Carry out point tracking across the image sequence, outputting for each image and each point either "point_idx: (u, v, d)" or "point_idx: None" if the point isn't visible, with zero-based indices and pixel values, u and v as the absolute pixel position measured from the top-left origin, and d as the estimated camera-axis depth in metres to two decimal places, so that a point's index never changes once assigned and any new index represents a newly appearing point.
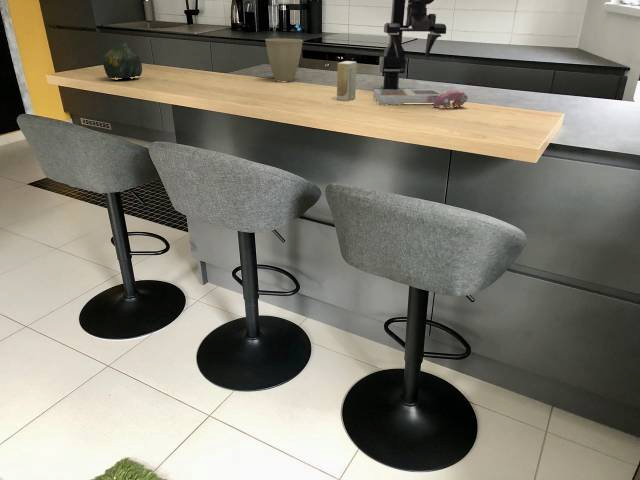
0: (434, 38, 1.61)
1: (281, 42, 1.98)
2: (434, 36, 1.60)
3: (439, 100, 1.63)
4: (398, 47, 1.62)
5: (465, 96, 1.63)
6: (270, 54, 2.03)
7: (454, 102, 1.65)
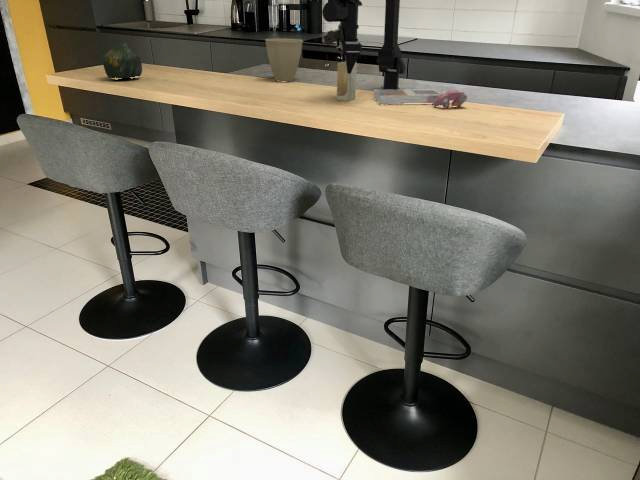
0: (343, 54, 1.65)
1: (281, 42, 1.98)
2: (342, 52, 1.65)
3: (438, 100, 1.63)
4: (342, 60, 1.76)
5: (464, 96, 1.63)
6: (270, 54, 2.03)
7: (453, 102, 1.65)
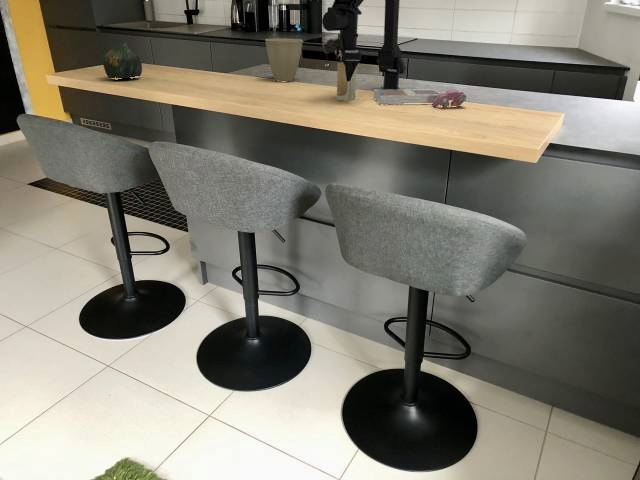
0: (343, 63, 1.66)
1: (281, 42, 1.98)
2: None
3: (438, 100, 1.63)
4: None
5: (464, 96, 1.64)
6: (270, 54, 2.03)
7: (453, 102, 1.65)
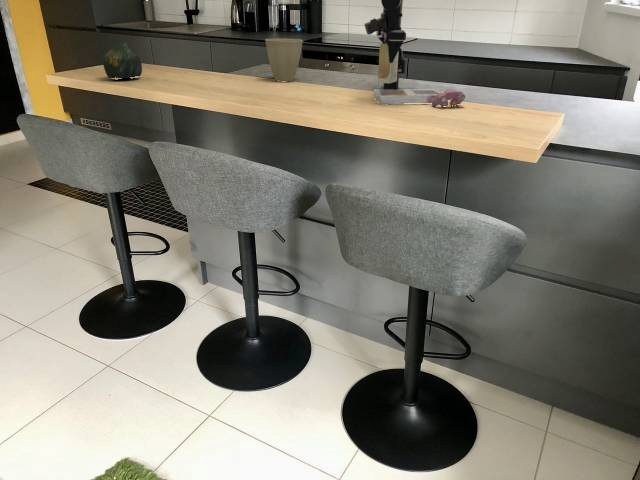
0: (386, 43, 1.62)
1: (281, 42, 1.98)
2: (384, 41, 1.62)
3: (437, 99, 1.64)
4: None
5: (462, 95, 1.64)
6: (270, 54, 2.03)
7: (452, 101, 1.66)
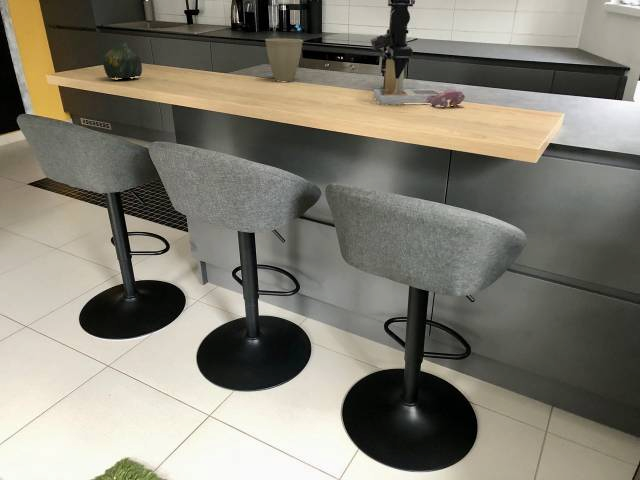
0: (393, 59, 1.64)
1: (281, 42, 1.98)
2: (391, 57, 1.64)
3: (436, 99, 1.64)
4: None
5: (462, 95, 1.64)
6: (270, 54, 2.03)
7: (451, 101, 1.66)
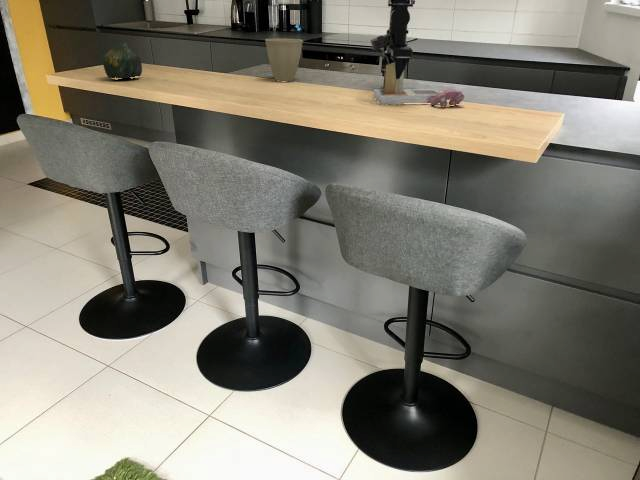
0: (393, 60, 1.63)
1: (281, 42, 1.98)
2: (391, 58, 1.63)
3: (436, 99, 1.64)
4: None
5: (462, 95, 1.65)
6: (270, 54, 2.03)
7: (451, 101, 1.66)
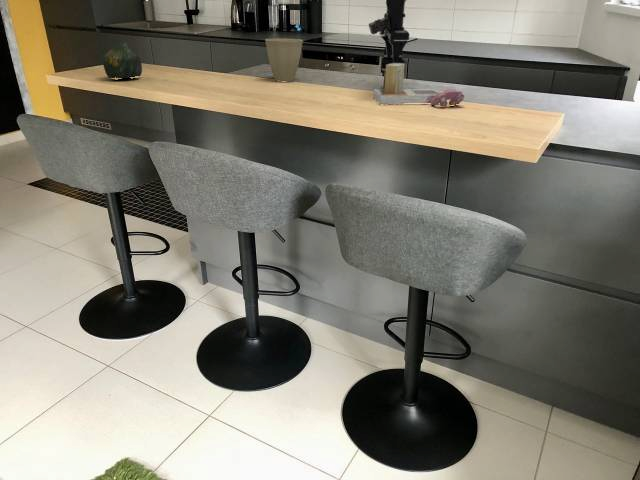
0: (390, 43, 1.68)
1: (281, 42, 1.98)
2: (389, 41, 1.68)
3: (436, 99, 1.64)
4: (386, 48, 1.79)
5: (462, 95, 1.65)
6: (270, 54, 2.03)
7: (451, 101, 1.66)
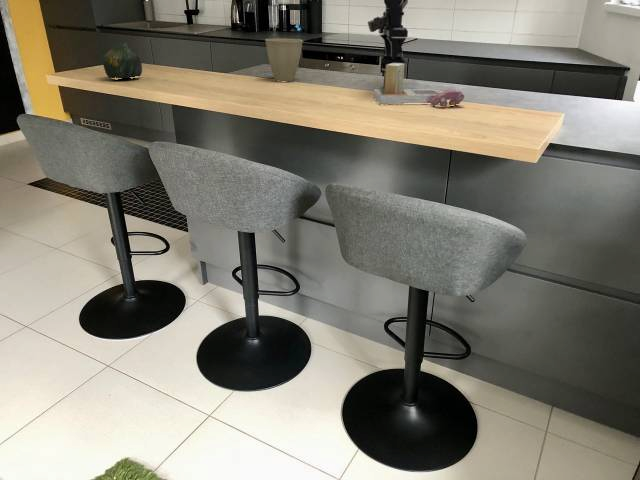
0: (389, 40, 1.70)
1: (281, 42, 1.98)
2: (387, 38, 1.70)
3: (436, 99, 1.64)
4: (385, 46, 1.81)
5: (462, 95, 1.65)
6: (270, 54, 2.03)
7: (451, 101, 1.66)
